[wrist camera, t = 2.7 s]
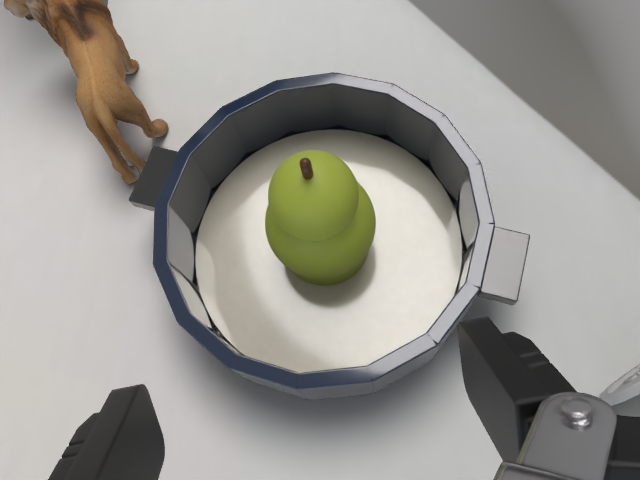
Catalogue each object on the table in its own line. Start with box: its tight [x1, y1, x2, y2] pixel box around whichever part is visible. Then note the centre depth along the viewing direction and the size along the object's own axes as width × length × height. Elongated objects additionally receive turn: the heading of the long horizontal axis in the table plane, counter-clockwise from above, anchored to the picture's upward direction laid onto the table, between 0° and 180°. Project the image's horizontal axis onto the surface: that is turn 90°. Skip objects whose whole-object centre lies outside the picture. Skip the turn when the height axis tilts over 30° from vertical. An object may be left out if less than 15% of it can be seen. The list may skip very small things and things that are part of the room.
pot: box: [129, 72, 530, 400], centre depth 31 cm, size 21×18×5 cm
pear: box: [265, 150, 376, 286], centre depth 28 cm, size 6×6×10 cm
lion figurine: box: [4, 0, 168, 184], centre depth 34 cm, size 15×5×9 cm, turn 33°
